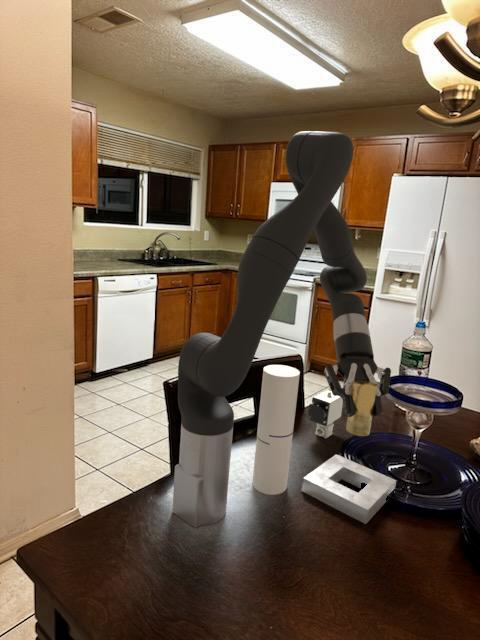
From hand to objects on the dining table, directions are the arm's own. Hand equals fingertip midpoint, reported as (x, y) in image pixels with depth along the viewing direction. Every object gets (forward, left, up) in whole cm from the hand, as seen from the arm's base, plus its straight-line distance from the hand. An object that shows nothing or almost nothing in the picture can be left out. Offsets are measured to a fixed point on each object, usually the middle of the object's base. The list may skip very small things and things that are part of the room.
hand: (364, 415), depth 86 cm
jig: (+1, +1, -18) cm, 18 cm away
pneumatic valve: (+20, +18, -18) cm, 33 cm away
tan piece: (+1, +1, -4) cm, 5 cm away
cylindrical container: (-9, +14, -18) cm, 25 cm away
